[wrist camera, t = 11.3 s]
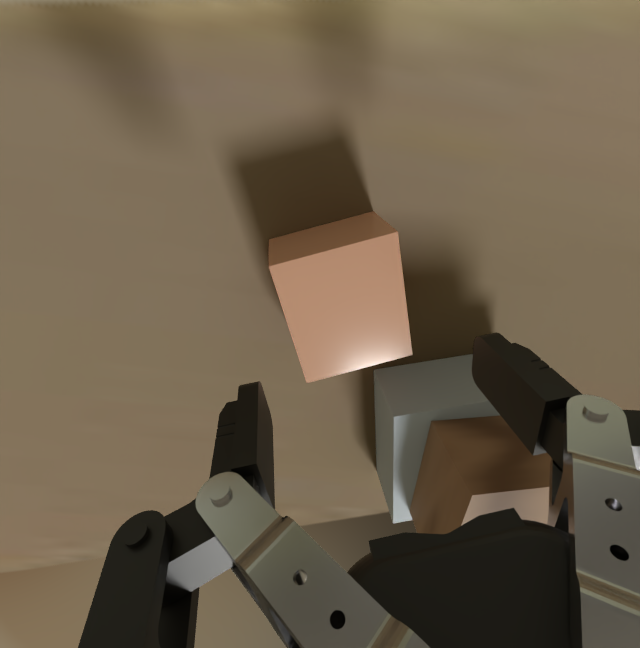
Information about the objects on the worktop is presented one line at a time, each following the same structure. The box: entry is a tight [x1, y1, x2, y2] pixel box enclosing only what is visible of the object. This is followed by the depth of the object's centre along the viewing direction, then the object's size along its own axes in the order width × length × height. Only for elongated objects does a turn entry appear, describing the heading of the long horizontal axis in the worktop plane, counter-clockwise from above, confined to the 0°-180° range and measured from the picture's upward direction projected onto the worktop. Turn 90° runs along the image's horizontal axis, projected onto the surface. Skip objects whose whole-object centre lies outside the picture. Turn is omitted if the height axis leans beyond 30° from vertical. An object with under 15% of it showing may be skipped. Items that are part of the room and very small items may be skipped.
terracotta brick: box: [269, 211, 413, 383], centre depth 20 cm, size 6×7×4 cm
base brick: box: [374, 354, 500, 523], centre depth 26 cm, size 9×11×5 cm
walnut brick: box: [410, 415, 551, 534], centre depth 22 cm, size 6×9×5 cm, turn 179°
